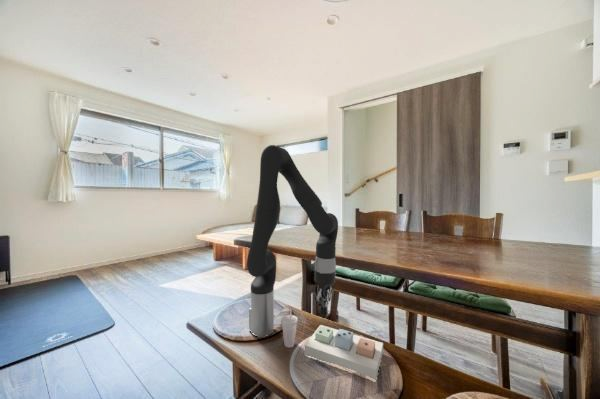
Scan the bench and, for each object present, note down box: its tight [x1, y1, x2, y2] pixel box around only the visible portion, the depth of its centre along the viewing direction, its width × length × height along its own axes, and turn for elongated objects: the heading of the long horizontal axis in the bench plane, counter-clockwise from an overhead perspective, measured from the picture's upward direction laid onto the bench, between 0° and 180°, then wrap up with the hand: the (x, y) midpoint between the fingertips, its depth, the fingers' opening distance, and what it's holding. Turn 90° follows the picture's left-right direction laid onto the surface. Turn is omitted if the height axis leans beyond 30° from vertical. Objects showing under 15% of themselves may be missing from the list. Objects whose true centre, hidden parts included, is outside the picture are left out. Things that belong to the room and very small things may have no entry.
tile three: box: [335, 328, 354, 351], centre depth 81 cm, size 5×5×6 cm
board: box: [304, 324, 384, 380], centre depth 82 cm, size 24×14×4 cm, turn 62°
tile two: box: [315, 325, 333, 344], centre depth 85 cm, size 5×5×6 cm
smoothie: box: [280, 307, 299, 349], centre depth 87 cm, size 6×6×14 cm
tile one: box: [357, 338, 375, 359], centre depth 78 cm, size 5×5×6 cm
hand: (323, 315), depth 85 cm, fingers closed
